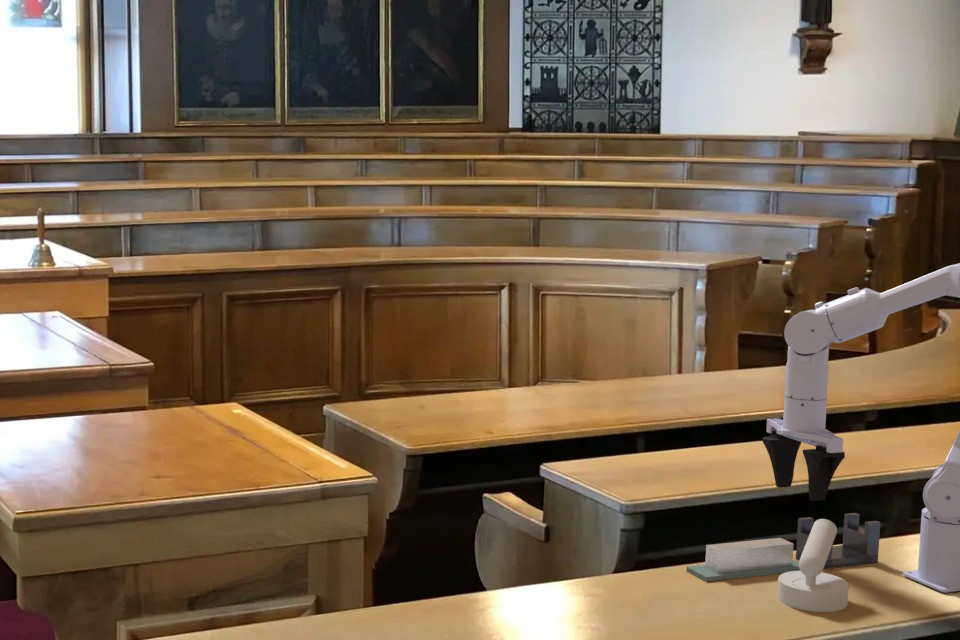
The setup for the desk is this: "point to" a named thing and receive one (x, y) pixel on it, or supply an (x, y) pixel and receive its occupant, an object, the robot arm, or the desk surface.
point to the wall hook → (814, 575)
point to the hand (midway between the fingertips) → (800, 493)
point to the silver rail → (749, 555)
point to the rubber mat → (739, 572)
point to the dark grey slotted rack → (846, 542)
